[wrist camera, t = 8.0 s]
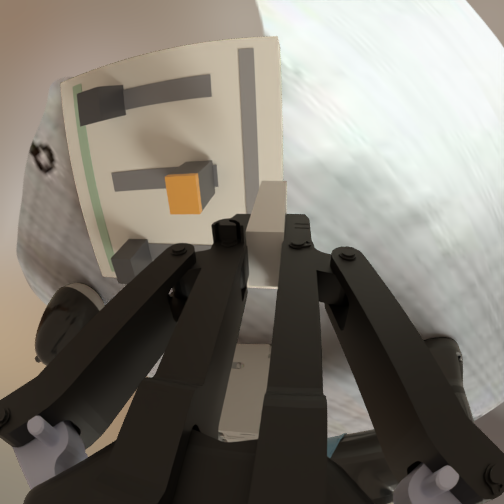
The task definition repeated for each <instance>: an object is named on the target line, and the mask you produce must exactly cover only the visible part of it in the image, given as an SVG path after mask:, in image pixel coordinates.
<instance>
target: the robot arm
mask: <svg viewBox="0 0 504 504" xmlns="http://www.w3.org/2000/svg"><path fill="white" fill-rule="evenodd" d="M211 227H212V235H213V245H212V247H211V249H208V250H204V251H197V252H195V248H194V246H193V245H191V244H188V243H177V244H174V245H172V246H170V247H168V248H167V249H166V250H164V251H163V252H162V253H161V254H160V255H159V256H158V257H157V258H155V259H154V260H153V261H152V262H151V263H150V264H149V265H148V266H147V267H146V268H145V269H143V270H142V271H141V272H140V273H139V274H138V275H137V276H136V277H135V278H134V279H133V280H132V281H130V282H129V283H128V284H127V285H126V286H125V287H124V288H123V289H122V290H121V291H120V292H119V293H118V294H117V295H116V296H115V297H114V298H113V299H112V300H111V301H109V302H108V303H107V304H106V305H105V306H104V307H103V308H102V309H101V310H100V311H99V312H98V313H97V314H96V315H95V316H94V317H93V318H92V319H91V320H90V321H89V322H88V323H87V324H86V325H85V326H84V327H83V328H82V329H81V330H80V331H79V332H78V333H77V334H76V335H75V336H74V338H73V339H72V340H71V341H70V342H69V343H68V344H67V345H66V346H65V347H64V348H63V349H62V350H61V351H60V352H59V353H58V354H57V355H56V356H55V358H54V359H53V360H52V361H51V362H50V363H49V364H48V365H47V366H46V367H45V368H44V370H43V371H42V372H41V373H40V374H39V375H38V376H37V377H36V378H34V379H32V380H31V381H29V382H28V383H26V384H25V385H23V386H22V387H20V388H19V389H17V390H15V391H14V392H12V393H11V394H9V395H8V396H6V397H5V398H3V399H1V400H0V438H2V439H3V440H4V441H5V442H7V443H8V444H10V445H11V446H12V447H13V449H14V452H15V454H16V457H17V459H18V462H19V464H20V467H21V469H22V471H23V474H24V476H25V478H26V480H27V483H28V485H29V487H30V489H31V491H30V492H29V493H28V494H27V496H26V498H25V500H24V503H23V504H483V503H486V502H488V501H490V500H492V499H494V498H496V497H498V496H500V495H501V494H502V493H503V492H504V453H503V452H502V451H501V450H500V449H499V448H498V447H497V446H496V445H495V444H494V443H493V442H492V441H491V440H490V439H489V438H488V437H487V436H486V435H485V434H484V433H483V432H482V431H481V430H480V429H479V428H478V427H477V426H476V425H475V424H474V420H473V417H472V413H471V410H470V407H469V403H468V400H467V397H466V394H465V391H464V388H463V359H462V354H461V351H460V349H459V346H458V344H457V343H456V342H455V341H454V340H452V339H449V338H434V339H429V340H426V341H423V339H422V338H421V336H420V334H419V333H418V331H417V330H416V328H415V327H414V325H413V324H412V322H411V321H410V319H409V318H408V316H407V315H406V313H405V312H404V310H403V309H402V307H401V306H400V304H399V303H398V302H397V300H396V299H395V297H394V296H393V294H392V293H391V292H390V290H389V289H388V287H387V286H386V285H385V283H384V282H383V280H382V279H381V278H380V276H379V275H378V274H377V272H376V271H375V270H374V268H373V267H372V265H371V264H370V263H369V261H368V260H367V259H366V258H365V256H364V255H363V254H362V253H361V252H360V251H359V250H357V249H355V248H352V247H338V248H336V249H334V250H333V251H332V253H331V254H326V253H323V252H320V251H318V250H317V249H315V248H314V244H313V242H312V240H311V231H310V221H309V218H308V217H307V216H306V215H305V214H287V181H261V185H260V188H259V191H258V194H257V197H256V200H255V203H254V206H253V210H252V213H251V214H236V215H234V216H233V217H232V218H227V219H221V220H218V221H216V222H214V223H213V224H212V225H211ZM248 278H249V286H272V287H278V290H277V300H276V310H275V320H274V329H273V338H272V347H271V356H270V365H269V373H268V381H267V389H266V393H265V395H264V400H263V407H262V414H261V422H260V429H259V436H258V439H254V440H246V441H237V442H223V441H220V440H218V429H219V422H220V418H221V413H222V408H223V404H224V399H225V395H226V390H227V386H228V381H229V376H230V372H231V367H232V363H233V358H234V354H235V349H236V344H237V340H238V335H239V330H240V326H241V321H242V317H243V312H244V307H245V303H246V298H247V293H248V291H247V282H248ZM171 288H172V290H173V292H172V293H171V294H170V295H169V291H170V290H171ZM319 301H320V302H324V303H325V309H326V311H327V314H328V316H329V318H330V320H331V323H332V325H333V327H334V330H335V332H336V334H337V337H338V339H339V341H340V344H341V346H342V349H343V351H344V353H345V356H346V358H347V361H348V363H349V365H350V368H351V370H352V373H353V375H354V378H355V380H356V383H357V385H358V388H359V390H360V393H361V395H362V398H363V400H364V403H365V406H366V408H367V411H368V413H369V416H370V419H371V421H372V424H373V427H374V429H373V430H368V431H363V432H358V433H352V434H347V433H344V434H342V435H340V436H335V437H330V438H327V400H326V396H325V395H323V377H322V349H321V329H320V312H319ZM163 353H164V355H163ZM162 355H163V357H162V360H161V362H160V364H159V367H158V369H157V372H156V374H155V375H154V376H153V377H152V378H148V377H146V376H147V375H148V373H149V372H150V371H151V369H152V368H153V367H154V365H155V364H156V363H157V361H158V360H159V359H160V357H161V356H162ZM145 377H146V378H145ZM136 389H137V391H136ZM135 391H136V393H135V396H134V398H133V400H132V403H131V405H130V407H129V410H128V412H127V415H126V417H125V419H124V422H123V424H122V427H121V429H120V432H119V434H118V437H117V440H116V441H114V442H112V443H111V444H109V445H108V446H106V447H104V448H103V449H101V450H100V451H98V452H96V453H94V454H93V455H91V456H90V457H88V456H87V454H86V453H85V450H86V449H87V448H88V447H90V446H91V445H92V444H93V443H94V442H95V441H96V440H97V439H98V438H99V437H101V435H102V434H103V433H104V432H105V431H106V429H107V428H108V427H109V426H110V424H111V423H112V422H113V420H114V419H115V418H116V416H117V415H118V413H119V412H120V411H121V410H122V408H123V407H124V405H125V404H126V403H127V401H128V400H129V399H130V397H131V396H132V395H133V393H134V392H135Z"/></svg>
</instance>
